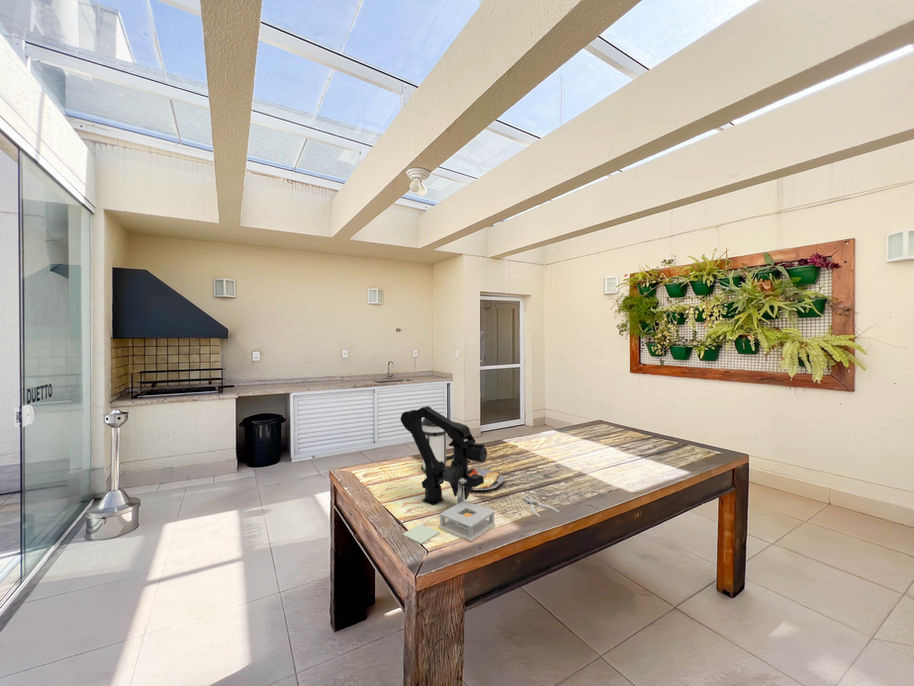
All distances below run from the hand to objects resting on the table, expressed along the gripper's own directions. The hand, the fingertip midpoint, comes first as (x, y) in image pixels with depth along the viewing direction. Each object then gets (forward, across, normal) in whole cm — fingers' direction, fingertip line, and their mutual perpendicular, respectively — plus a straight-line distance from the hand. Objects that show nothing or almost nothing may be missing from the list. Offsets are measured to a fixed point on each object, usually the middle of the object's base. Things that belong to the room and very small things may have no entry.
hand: (460, 497), depth 144 cm
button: (+1, +11, -10) cm, 15 cm away
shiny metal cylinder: (+4, 0, 0) cm, 4 cm away
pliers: (+5, +23, +20) cm, 31 cm away
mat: (+4, +2, -24) cm, 24 cm away
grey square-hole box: (+4, +11, -10) cm, 15 cm away
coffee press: (+4, -36, +25) cm, 44 cm away
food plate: (+4, -10, +26) cm, 28 cm away
